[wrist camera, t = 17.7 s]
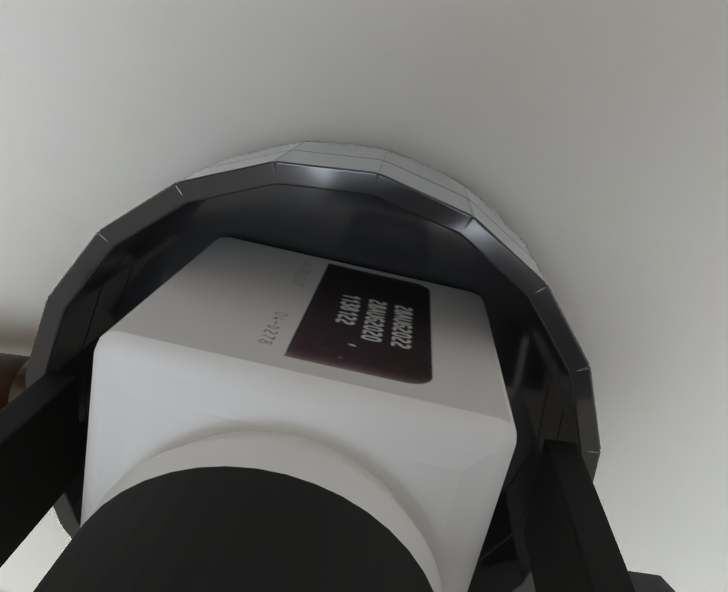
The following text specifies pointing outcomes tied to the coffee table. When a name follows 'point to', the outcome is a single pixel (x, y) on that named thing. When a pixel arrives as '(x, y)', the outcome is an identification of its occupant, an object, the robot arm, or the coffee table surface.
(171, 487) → the container
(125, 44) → the coffee table surface
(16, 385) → the pan handle
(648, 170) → the coffee table surface
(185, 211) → the pan
